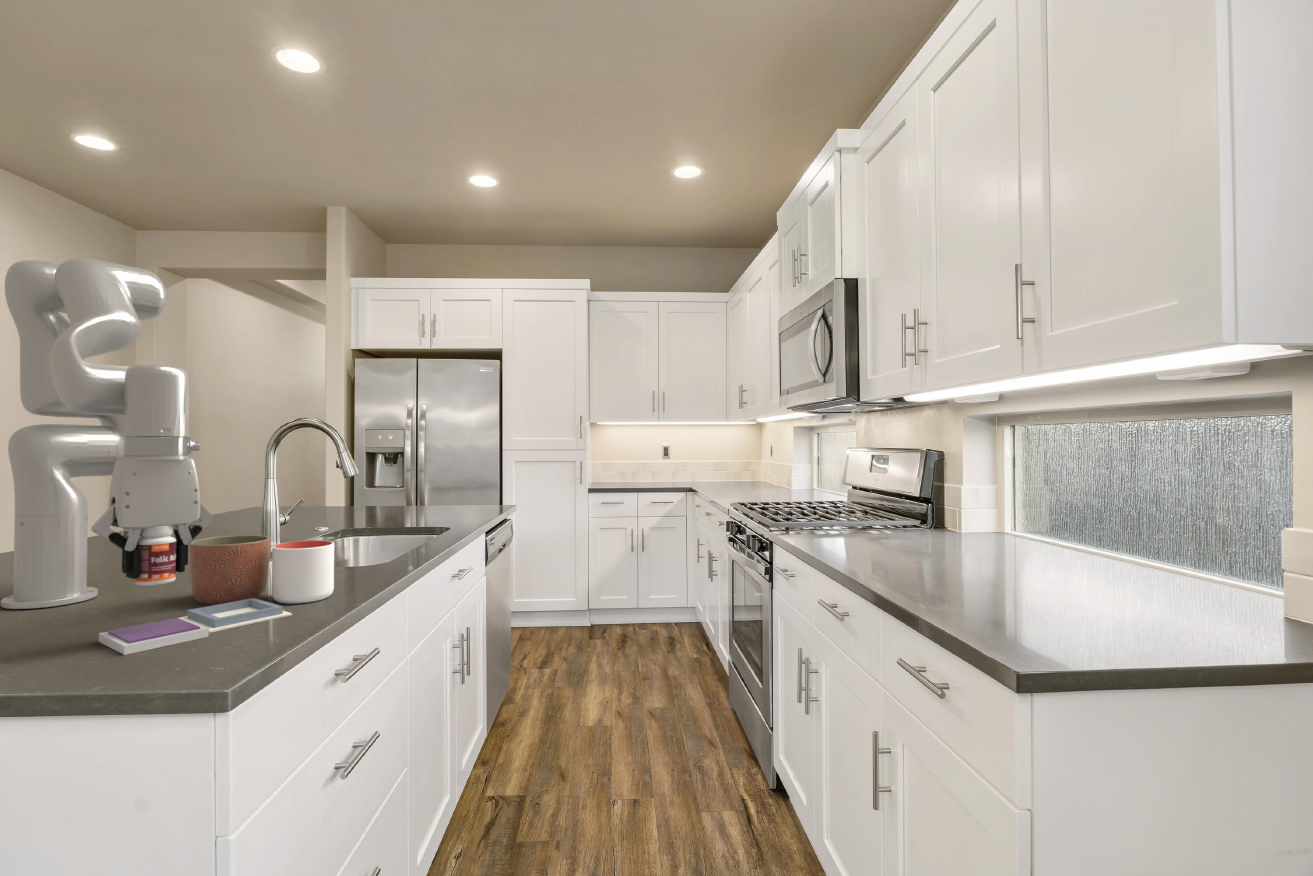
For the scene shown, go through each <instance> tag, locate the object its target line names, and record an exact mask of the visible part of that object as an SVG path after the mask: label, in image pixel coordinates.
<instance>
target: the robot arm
mask: <svg viewBox="0 0 1313 876" xmlns="http://www.w3.org/2000/svg"><path fill="white" fill-rule="evenodd" d="M4 279H5V280H4V294H5V299H6V300H5V301H6V304H7V307H8V310H9V312H10V315H11V317H12V320H13V322H14V325H15V326H16V330H17V334H18V337H19V392H20V393H19V394H20V401H21V403H22V406H23V408H24V409H25V410H26V412H28V413H30V414H32V415H35V416H36V415H37V416H41V417H42V416H43V417H54V418H55V417H56V418H78V419H79V418H82V419H83V418H85V419H98V420H99V421H100V424H101V425H89V424H66V423H65V424H58V423H53V424H52V423H47V424H46V423H44V424H43V423H42V424H41V423H40V424H32V425H28V426H23V427H21V428H19V429H17V430H16V431H14V432H13V433H12V434H11V436H10V437H9V439H8V444H7V453H8V459H9V462H10V463H9V464H10V469H11V473H12V478H13V486H14V487H13V490H14V530H13V531H14V538H13V539H14V542H13V544H14V545H13V591H12V592H13V593H12V595H9V596H5V597H3V598H2V599H1V600H0V607H1V608H3V609H6V610H7V609H8V610H9V609H10V610H27V609H40V608H41V609H43V608H51V607H58V606H65V605H71V604H75V603H76V604H77V603H81V602H83V601H87V600H91V599H93V598H95V597H96V596H98V594H99V592H98V591H99V590H98V588H96V587H95V586H93V587H92V586H87V584H88V583H87V582H88V579H87V578H88V526H89V524H88V520H89V519H88V513H89V512H88V510H89V508H88V507H89V504H88V500H87V497H86V496H85V495H84V493H83V492H82V491H81V490H80V489H79V488H78V487H77V486H76V485H75V484H74V483H72V481H71V480H70V479H71V478H80V477H106V476H109V477H110V476H111V481H110V486H109V495H108V504H107V510H106V511H105V512H104V513H103V514H102V515H101V516H100V517H99V518H98V520H96V521H95V523H94V524H93V525H92V526H91V528H90V530H91V532H93V533H94V534H96V535H99V536H100V537H103V538H105V539H106V540H107V541H109V542H110V543H112V544H113V545H115V546H116V547H117V548H119V549H120V550H121V572H122V573H123V574H125V577H126V578H128V579H132V580H135V579H137V578H138V577H140V551H139V550H137V546H136V544H137V541H138V539H139V538H140V536H139V535H140V532H141V529H145V528H151V527H155V526H167V525H168V526H174V532H173V534H172V536H173V537H175V538H176V540H177V548H176V573H184V572H185V571H186V566H187V565H188V564H189V544H190V543H191V542H192V541H194V540H195V538H196V537H197V536H198V535H199V534H200V533H201V532H203V530H204V529H206V528H207V527H208V526H210V525H211V524H212V523H213V522H214V521H215V517H214V516H213V515H212V514H211V513H210V512H209V511H208V510H207V509H206V508H205V507H204V506H203V505H202V503H201V493H200V492H201V491H200V483H199V477H198V471H197V467H196V463H195V460H194V458H190V455H191V453H192V452H195V451H200V448H201V447H200V445H201V444H200V442H198V441H193V440H191V439H192V438H191V437H190V391H191V390H190V389H191V388H190V386H191V385H190V375H189V373H188V372H187V370H186V369H185V368H182V367H179V366H176V365H175V366H174V365H168V364H156V363H155V364H153V363H143V364H142V363H141V364H134V365H120V364H119V365H118V364H110V363H109V364H107V363H106V364H105V363H96V362H95V363H94V362H86V360H85V359H86V358H92V357H96V356H100V355H106V354H108V353H109V354H110V353H113V352H118V351H120V350H123V349H126V348H128V347H129V346H131V345H133V344H134V343H136V342H137V340H139V338H140V336H141V335H142V331H143V330H142V328H143V326H142V322H141V321H144V320H150V319H151V320H152V319H155V318H157V317H159V316H160V315H162V313H163V312H164V310H165V308H166V305H167V300H168V299H167V289H166V288H165V285H164V283H163V281H162V279H161V278H160V277H159V276H158V275H157V274H155V272H153V271H150V270H148V269H145V268H141V267H135V266H129V265H126V264H121V263H120V264H119V263H115V262H110V261H105V260H101V259H94V258H88V257H87V258H85V257H81V258H80V257H78V258H77V257H76V258H73V259H71V258H70V259H67V260H65V261H64V262H61V263H58V262H53V261H52V262H51V261H45V260H44V261H43V260H29V259H28V260H27V259H26V260H20V261H16V262H15V263H13V264H11V266H9V268H8V269H7V271H6V275H5V278H4ZM61 313H63V314H66V315H67V317H68V319H67V318H66V317H65V316H64V315H63V314H61ZM111 527H114V528H121V529H122V531H121V532H122V533H120V532H117V531H114V530H113V529H112V528H111Z"/></svg>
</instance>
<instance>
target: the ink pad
mask: <svg viewBox="0 0 1313 876" xmlns="http://www.w3.org/2000/svg"><path fill="white" fill-rule="evenodd" d="M209 635H210V632H209V628H206V627H203V626H201V625H198V624H196V623H193V622H190V621H188V620H185V619H183V618H180V617H173V618H168V619H163V620H158V621H154V622H147V623H141V624H137V625H132V626H131V625H130V626H127V627H121V628H116V629H111V630H107V631H104V632H99V633H98V642H99V643H100V644H102V645H104V646H107V647H108V648H109V649H111V650H114V651H115V652H118V653H120V654H122V655H123V656H126V655H130V654H135V653H140V652H144V651H149V650H153V649H158V648H163V647H168V646H172V645H177V644H182V643H186V642H190V641H191V642H192V641H196V640H199V639H204V638H208V637H209Z"/></svg>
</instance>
